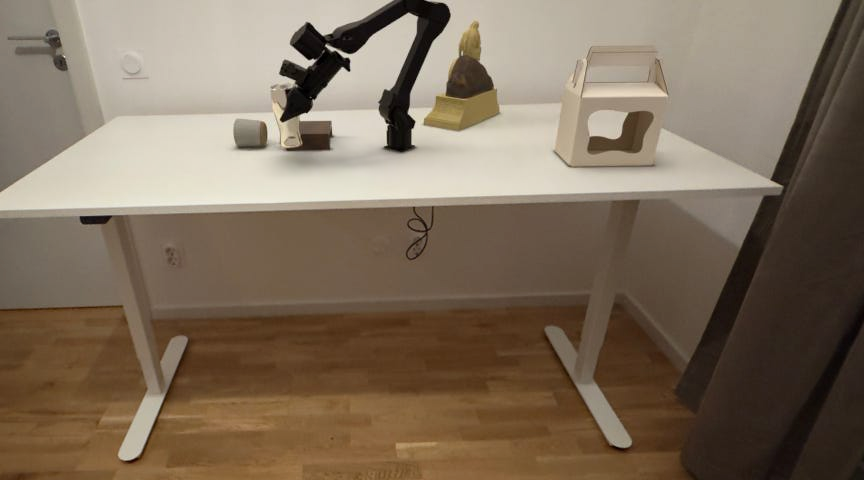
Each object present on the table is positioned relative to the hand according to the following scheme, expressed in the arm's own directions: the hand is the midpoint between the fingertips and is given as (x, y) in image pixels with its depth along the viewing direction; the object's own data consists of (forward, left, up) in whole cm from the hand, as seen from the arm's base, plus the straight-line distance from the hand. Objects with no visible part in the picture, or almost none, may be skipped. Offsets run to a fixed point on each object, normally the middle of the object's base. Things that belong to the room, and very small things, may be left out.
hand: (282, 117), depth 138 cm
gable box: (-66, -53, -11) cm, 85 cm away
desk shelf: (+5, -14, -11) cm, 18 cm away
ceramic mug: (+17, -2, -11) cm, 20 cm away
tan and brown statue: (-14, -65, -11) cm, 67 cm away
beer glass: (-1, -1, -7) cm, 7 cm away
